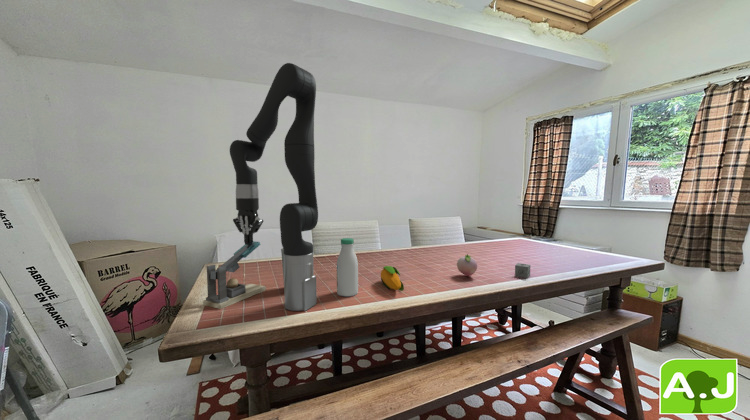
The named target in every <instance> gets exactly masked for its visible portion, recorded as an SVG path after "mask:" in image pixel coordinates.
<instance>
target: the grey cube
mask: <svg viewBox="0 0 750 420" xmlns="http://www.w3.org/2000/svg"><path fill="white" fill-rule="evenodd" d="M514 276H515V277H516V278H524V279H529V278H530V277H531V264H526V263H520V262H518V263H516V264H515V265H514Z"/></svg>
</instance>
